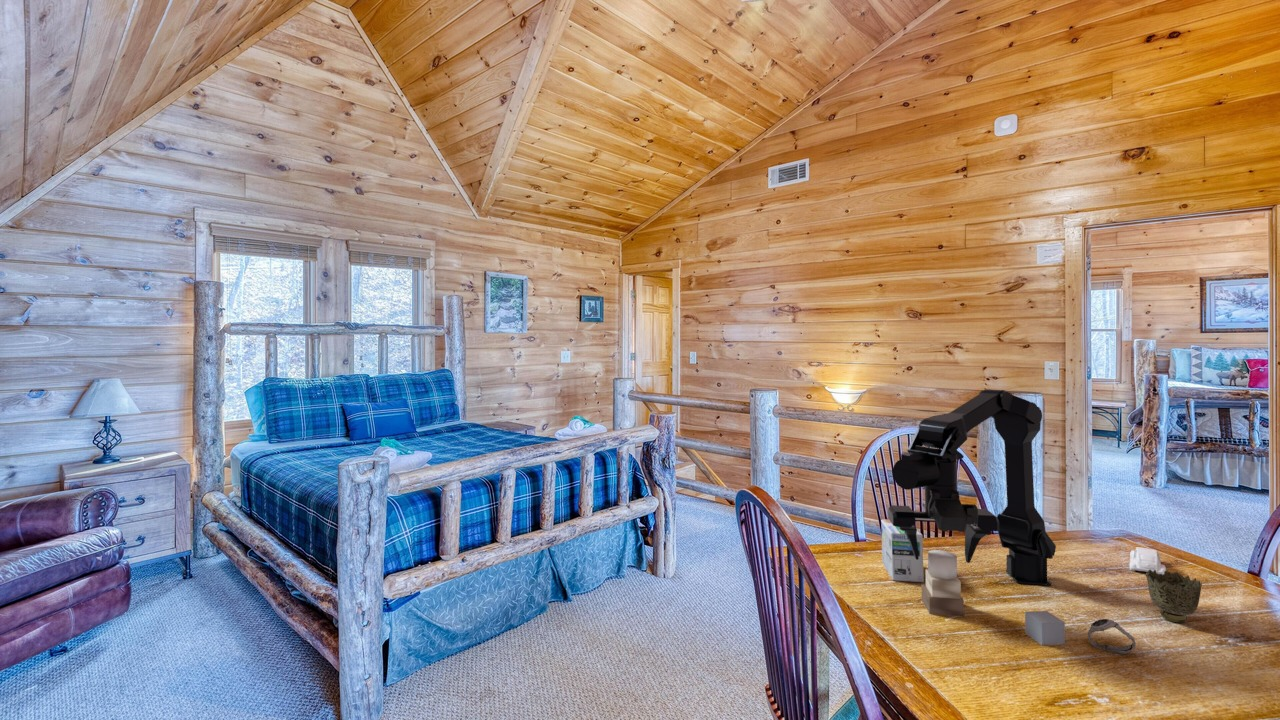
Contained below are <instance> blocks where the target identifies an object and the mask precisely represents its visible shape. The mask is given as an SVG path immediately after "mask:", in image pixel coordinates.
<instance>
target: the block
mask: <svg viewBox="0 0 1280 720" xmlns="http://www.w3.org/2000/svg"><path fill="white" fill-rule="evenodd" d="M1024 618H1025V620H1024V621H1025V622H1024V623H1025V627H1024V629H1025V630H1024V631H1025V634H1026V635H1027V636H1029V637H1030V638H1032V639H1033V640H1034V641H1036V642H1037V643H1038V644H1039V645H1041V646H1053V645H1054V646H1055V645H1057V646H1058V645H1066V643H1065V642H1066V639H1065V637H1066V632H1065V630H1066V629H1065V625H1066V622H1065V621H1064V620H1062V619H1060V618H1059V617H1058V616H1056V615H1055V614H1053V613H1051V612H1050V611H1048V610H1043V611H1042V610H1039V611H1036V610H1034V611H1025V612H1024Z"/></svg>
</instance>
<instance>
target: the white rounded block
mask: <svg viewBox="0 0 1280 720" xmlns="http://www.w3.org/2000/svg"><path fill="white" fill-rule="evenodd" d="M1129 558H1130V559H1129V564H1128V568H1129V571H1132V572H1136V571H1138V572H1147V573H1148V571H1149V570H1151V571H1154V570H1156V573H1157V574H1158V575H1159V574H1162V575H1163V574H1164V572H1165V571H1167V568H1166V565H1164V564H1162V563H1161V562H1162V561H1161V556H1160V554H1159V553H1158V551H1157V550H1156V549H1152V548H1146V547H1141V546H1136V547H1135V550H1134V549H1132V550H1130V553H1129Z"/></svg>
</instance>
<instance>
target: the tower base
mask: <svg viewBox="0 0 1280 720" xmlns="http://www.w3.org/2000/svg"><path fill="white" fill-rule="evenodd" d="M921 601H922V603H923V605H924V607H925V609H926V610H927V612H928V613H929V614H930V615H937V616H938V615H940V616H950V617H962V618H963V617H965V612H964V611H965V610H964V607H965V605H964V599H963V597H962V596H961V599H951V598H938V597H932V595H931V594H930V592H929V591H928V589H927V587H926V583H925V584H924V583H923V584H922V583H921Z"/></svg>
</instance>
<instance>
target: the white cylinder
mask: <svg viewBox="0 0 1280 720" xmlns="http://www.w3.org/2000/svg"><path fill="white" fill-rule="evenodd" d="M927 567H928V568H927V569H928V573H929V575H931V576H933V577H935V578H938V579H944V580H953V579H956V578H957V577H958V557H957V555H956V554H955V553H953V552H951V551H947V550H940V549H933V550H929V551H928V552H927Z"/></svg>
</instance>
